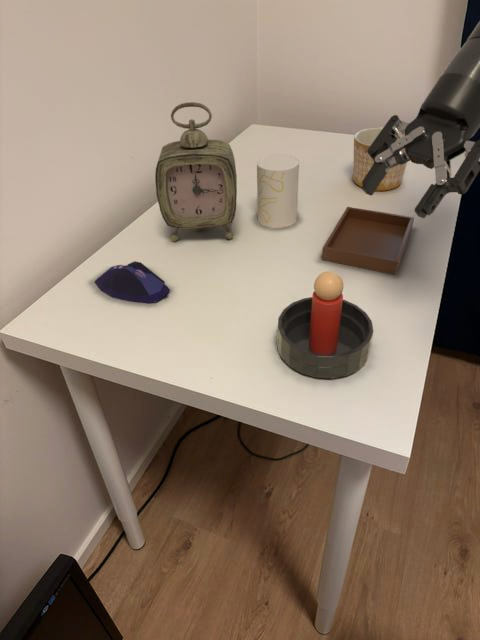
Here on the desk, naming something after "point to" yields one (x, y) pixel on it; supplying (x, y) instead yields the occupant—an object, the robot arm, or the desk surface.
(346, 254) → the tray
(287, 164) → the white cylinder
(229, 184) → the tabletop clock
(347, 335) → the pan
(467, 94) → the robot arm
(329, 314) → the doll
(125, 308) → the desk surface
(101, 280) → the computer mouse
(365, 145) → the planter
